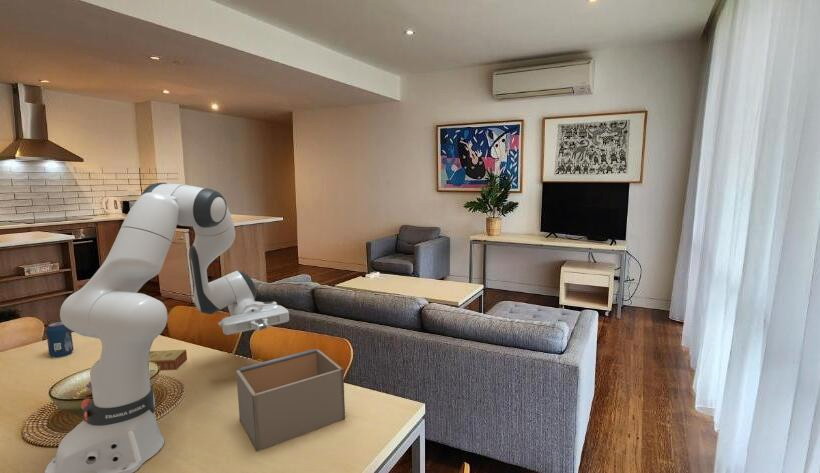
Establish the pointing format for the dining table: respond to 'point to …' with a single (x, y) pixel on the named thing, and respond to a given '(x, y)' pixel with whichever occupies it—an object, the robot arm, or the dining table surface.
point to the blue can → (59, 340)
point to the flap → (281, 371)
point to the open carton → (292, 405)
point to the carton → (168, 358)
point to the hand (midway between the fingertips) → (263, 327)
